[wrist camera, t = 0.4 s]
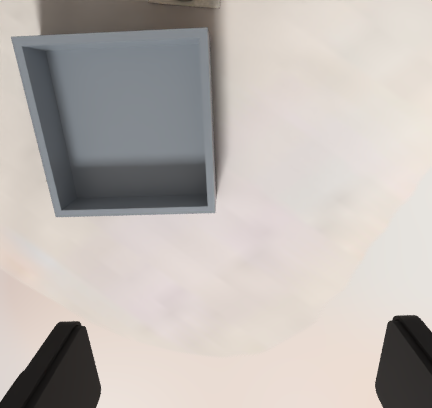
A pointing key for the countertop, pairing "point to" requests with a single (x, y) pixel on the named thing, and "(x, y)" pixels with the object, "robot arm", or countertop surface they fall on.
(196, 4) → the condiment
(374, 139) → the countertop surface
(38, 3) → the countertop surface
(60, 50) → the open bin
